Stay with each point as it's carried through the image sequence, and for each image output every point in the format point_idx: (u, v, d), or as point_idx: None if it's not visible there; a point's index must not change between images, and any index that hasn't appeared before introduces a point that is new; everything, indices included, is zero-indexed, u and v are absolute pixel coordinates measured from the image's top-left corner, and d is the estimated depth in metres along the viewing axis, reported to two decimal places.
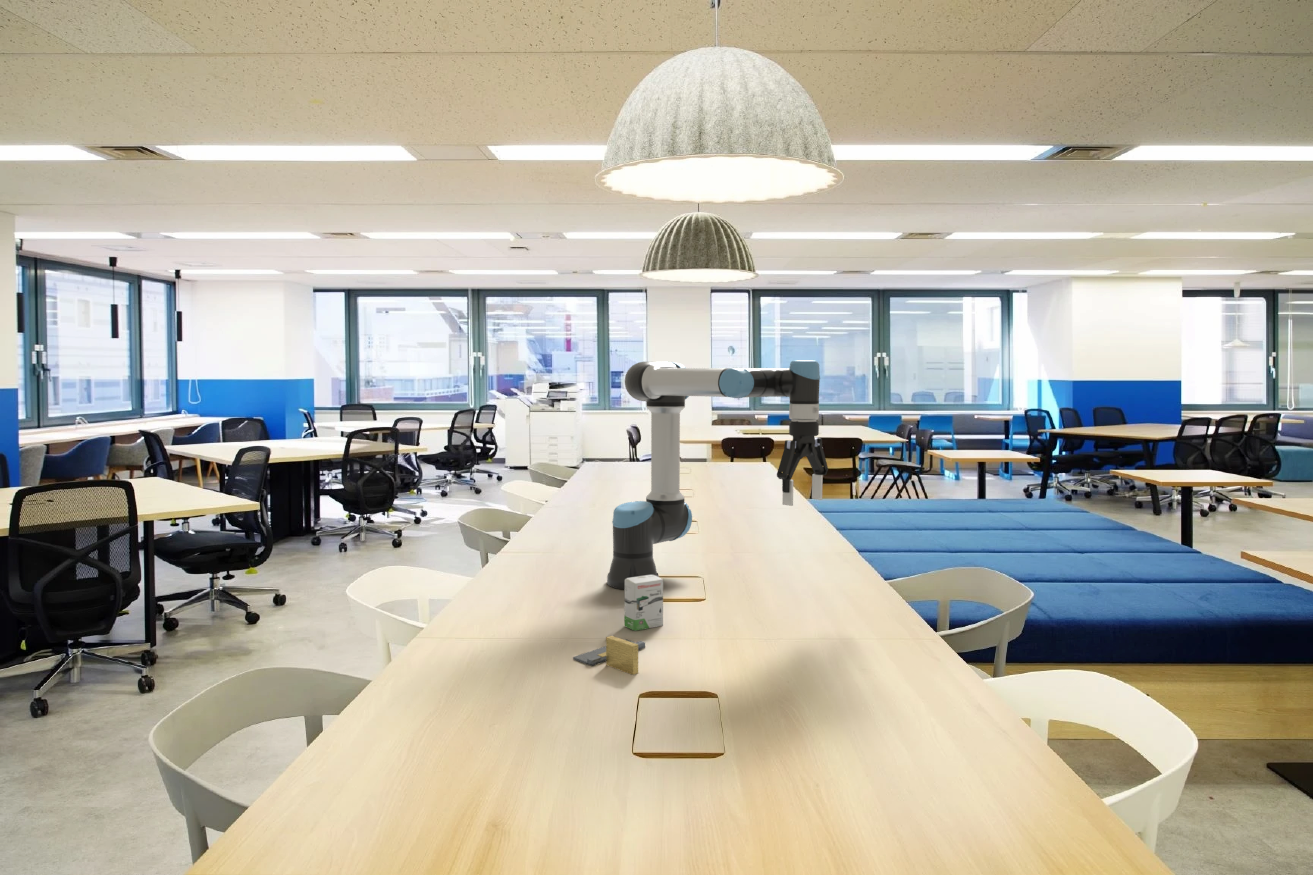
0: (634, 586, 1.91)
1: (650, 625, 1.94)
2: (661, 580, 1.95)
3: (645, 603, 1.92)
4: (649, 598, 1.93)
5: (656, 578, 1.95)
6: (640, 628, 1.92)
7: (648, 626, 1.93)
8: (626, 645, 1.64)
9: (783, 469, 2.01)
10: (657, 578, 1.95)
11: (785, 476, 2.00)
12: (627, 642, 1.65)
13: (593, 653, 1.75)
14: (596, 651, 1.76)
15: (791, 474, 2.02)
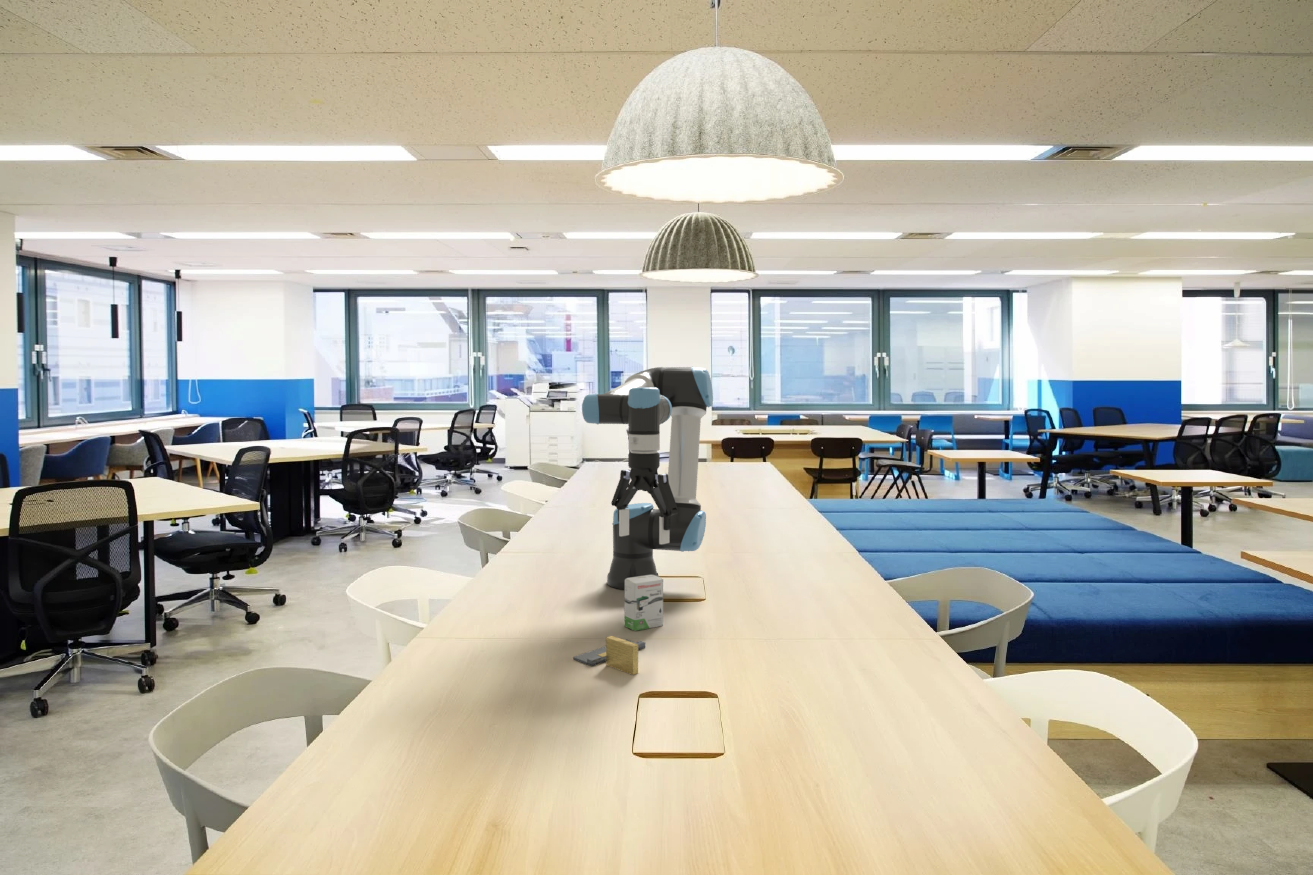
0: (634, 586, 1.91)
1: (650, 625, 1.94)
2: (661, 580, 1.95)
3: (645, 603, 1.92)
4: (649, 598, 1.93)
5: (656, 578, 1.95)
6: (640, 628, 1.92)
7: (648, 626, 1.93)
8: (626, 645, 1.64)
9: None
10: (657, 578, 1.95)
11: (612, 503, 1.99)
12: (627, 642, 1.65)
13: (593, 653, 1.75)
14: (596, 651, 1.76)
15: (619, 504, 1.97)
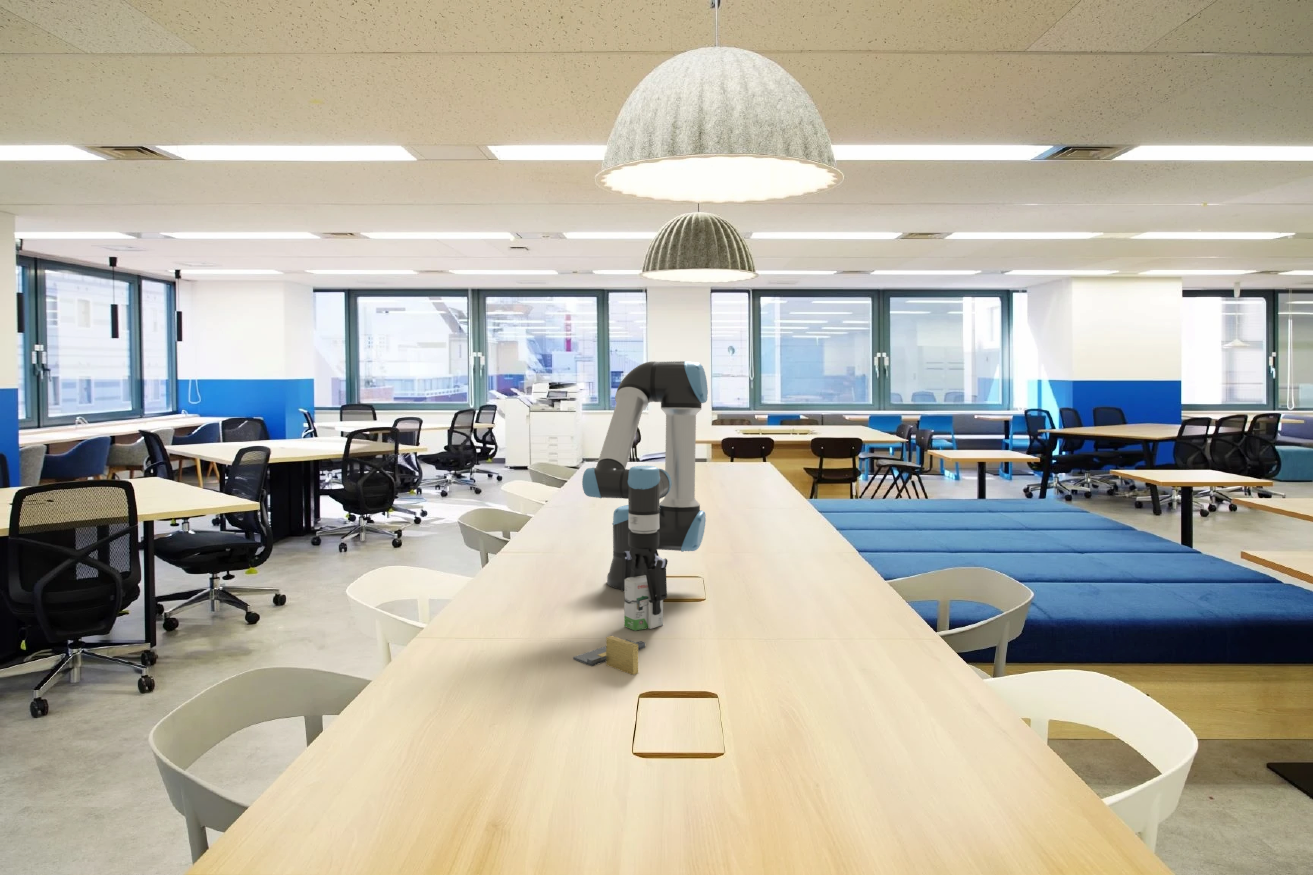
0: (634, 586, 1.91)
1: None
2: None
3: (645, 603, 1.92)
4: (649, 598, 1.93)
5: None
6: (640, 628, 1.92)
7: None
8: (626, 645, 1.64)
9: None
10: None
11: (622, 590, 1.98)
12: (627, 642, 1.65)
13: (593, 653, 1.75)
14: (596, 651, 1.76)
15: None
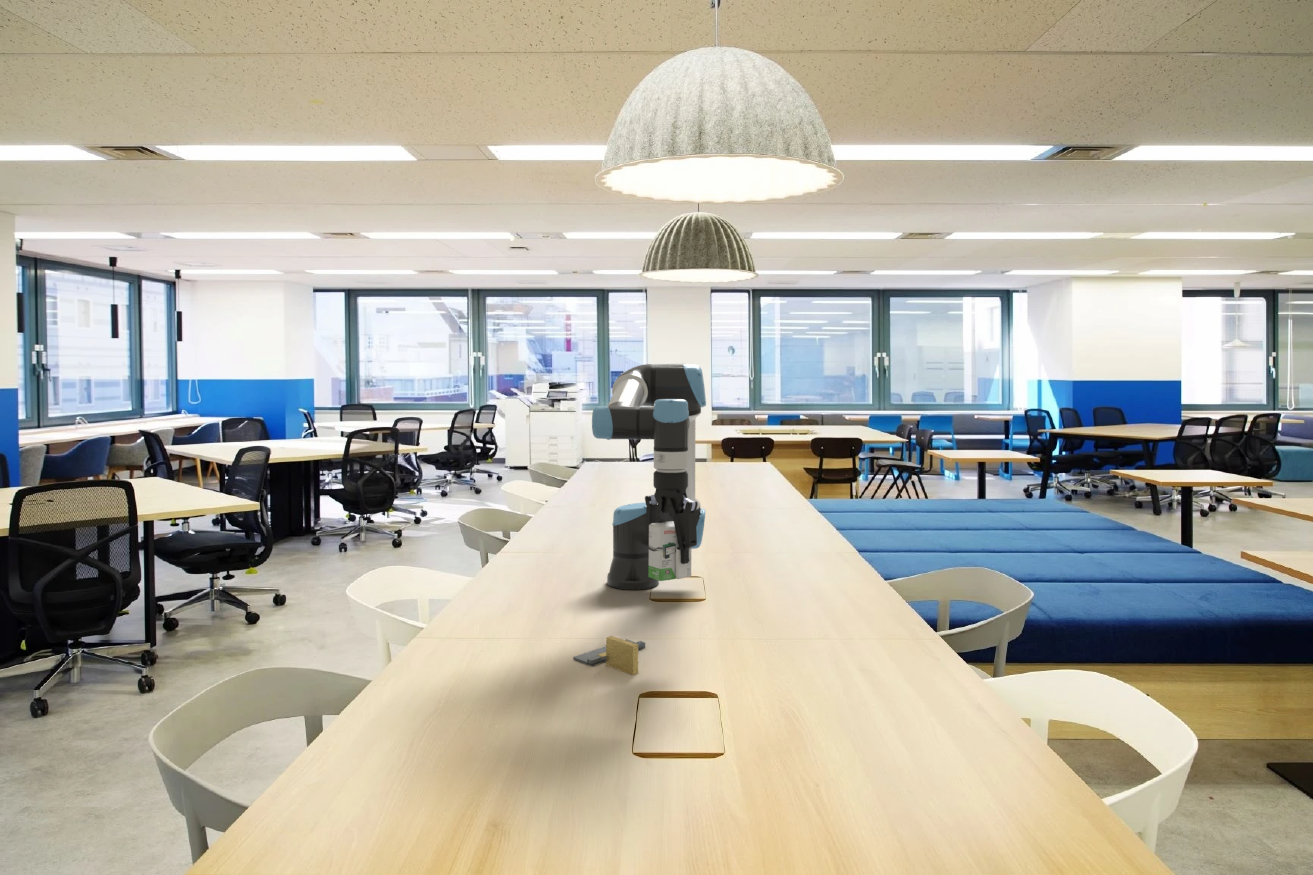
0: (660, 531, 1.71)
1: None
2: None
3: (672, 551, 1.73)
4: (677, 545, 1.73)
5: None
6: (666, 578, 1.72)
7: (675, 576, 1.74)
8: (626, 645, 1.64)
9: None
10: None
11: (646, 538, 1.79)
12: (627, 642, 1.65)
13: (593, 653, 1.75)
14: (596, 651, 1.76)
15: None
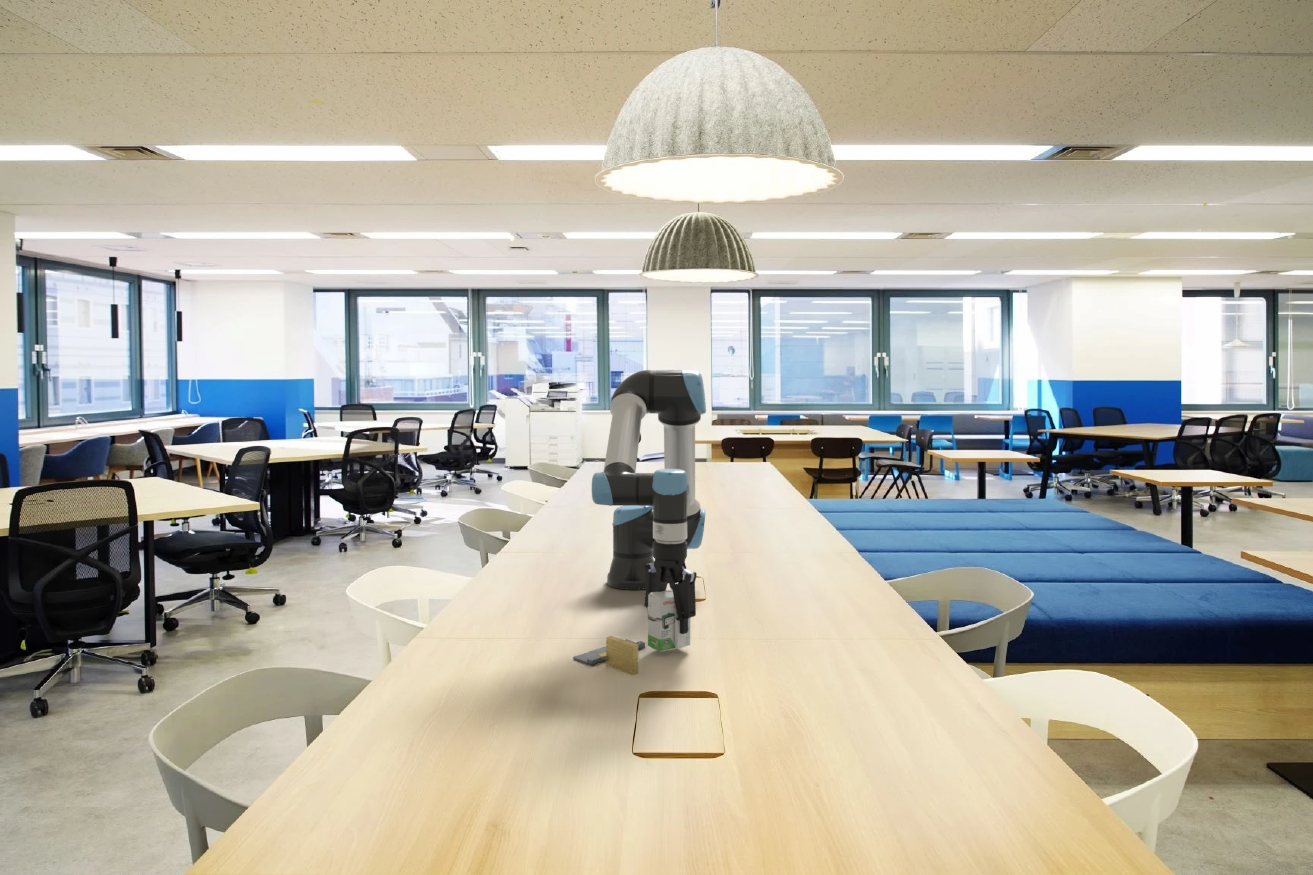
0: (659, 602, 1.72)
1: None
2: None
3: (671, 621, 1.74)
4: (676, 615, 1.74)
5: None
6: (666, 648, 1.74)
7: (674, 646, 1.75)
8: (626, 645, 1.64)
9: None
10: None
11: (645, 605, 1.80)
12: (627, 642, 1.65)
13: (593, 653, 1.75)
14: (596, 651, 1.76)
15: None
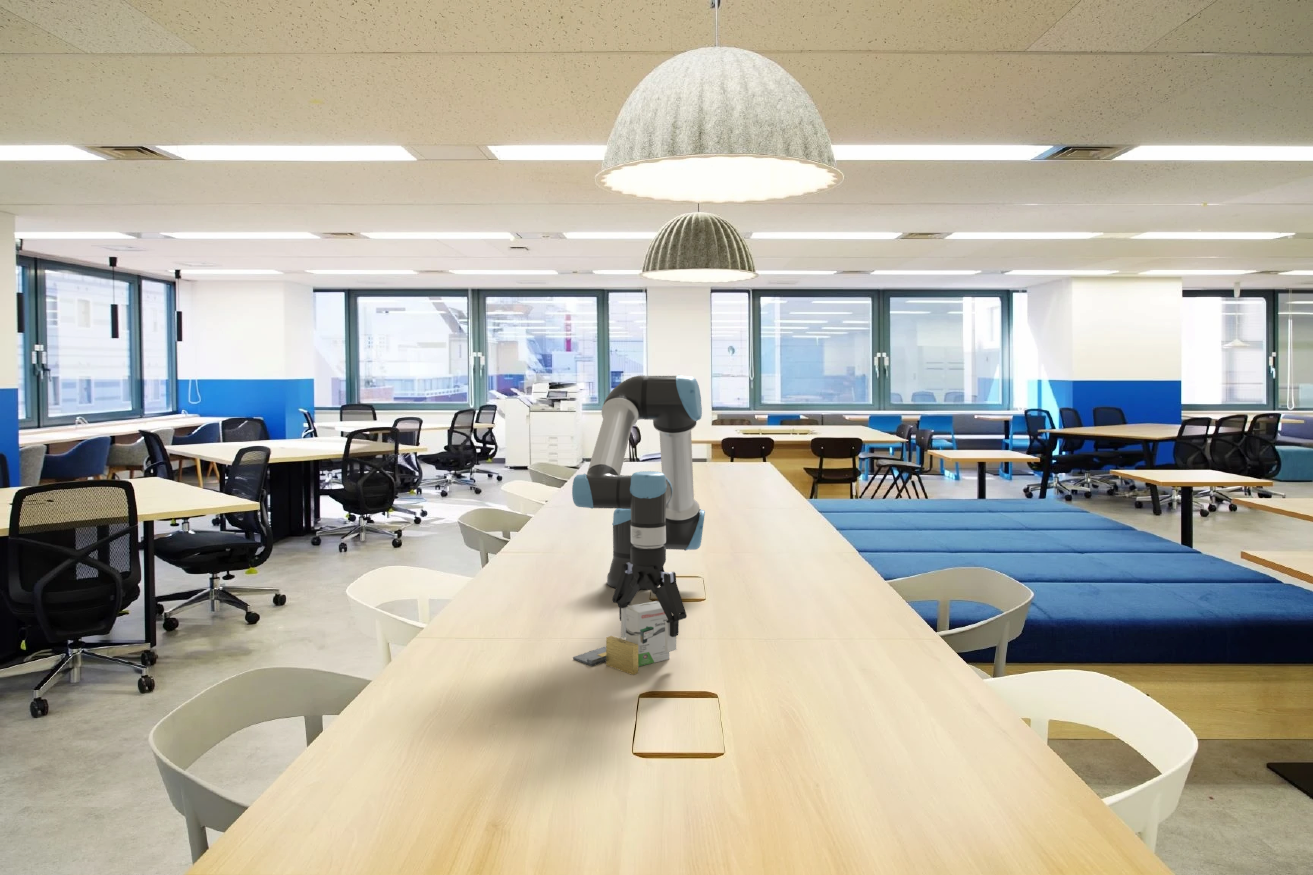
0: (638, 615, 1.67)
1: (655, 659, 1.70)
2: None
3: (650, 635, 1.69)
4: (654, 628, 1.70)
5: None
6: (644, 663, 1.69)
7: (653, 660, 1.70)
8: (626, 645, 1.64)
9: None
10: None
11: (613, 600, 1.77)
12: (627, 642, 1.65)
13: (593, 653, 1.75)
14: (596, 651, 1.76)
15: (621, 601, 1.75)
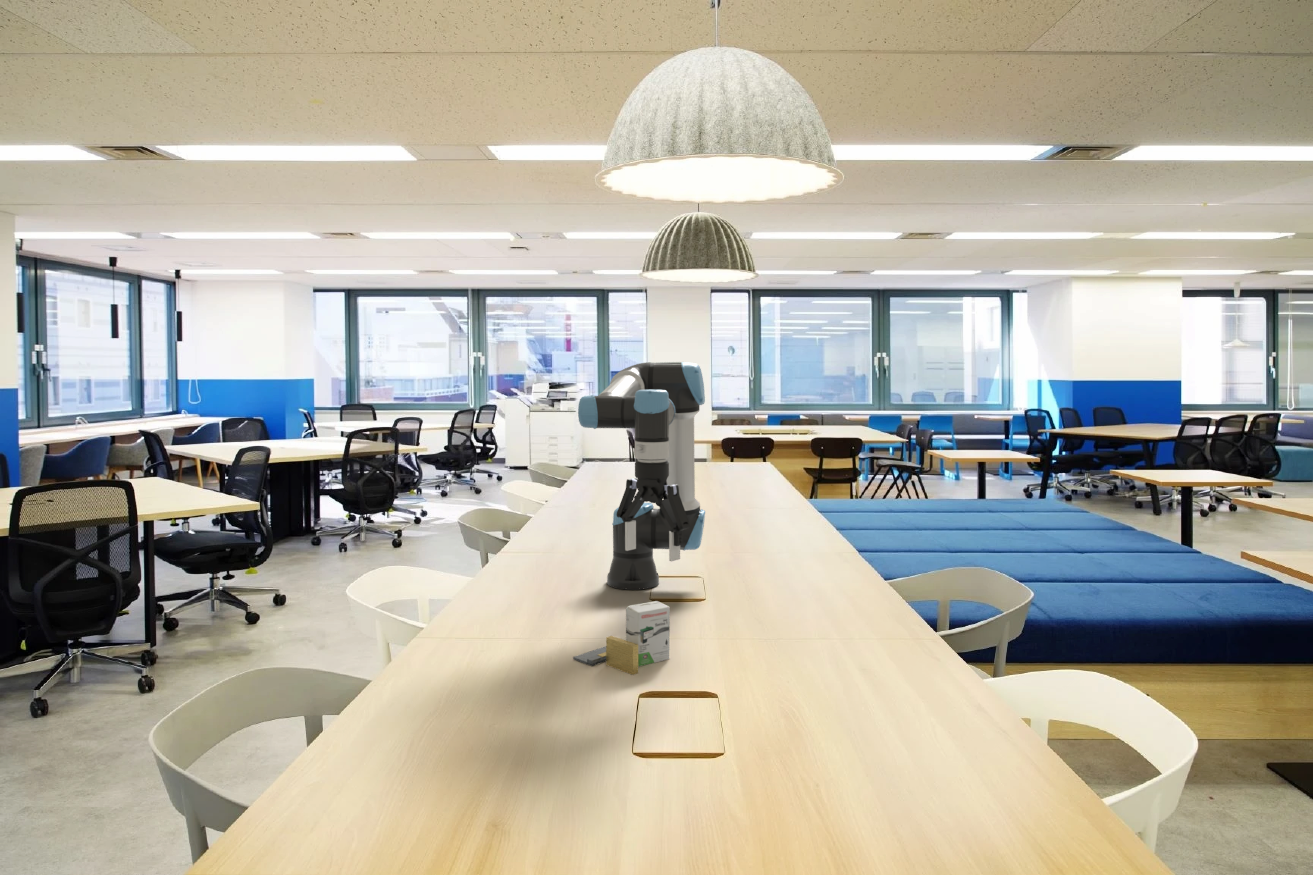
0: (638, 615, 1.67)
1: (655, 659, 1.70)
2: (667, 608, 1.72)
3: (650, 635, 1.69)
4: (654, 628, 1.70)
5: (662, 605, 1.72)
6: (644, 663, 1.69)
7: (653, 660, 1.70)
8: (626, 645, 1.64)
9: None
10: (663, 605, 1.72)
11: (617, 515, 1.84)
12: (627, 642, 1.65)
13: (593, 653, 1.75)
14: (596, 651, 1.76)
15: (625, 515, 1.82)
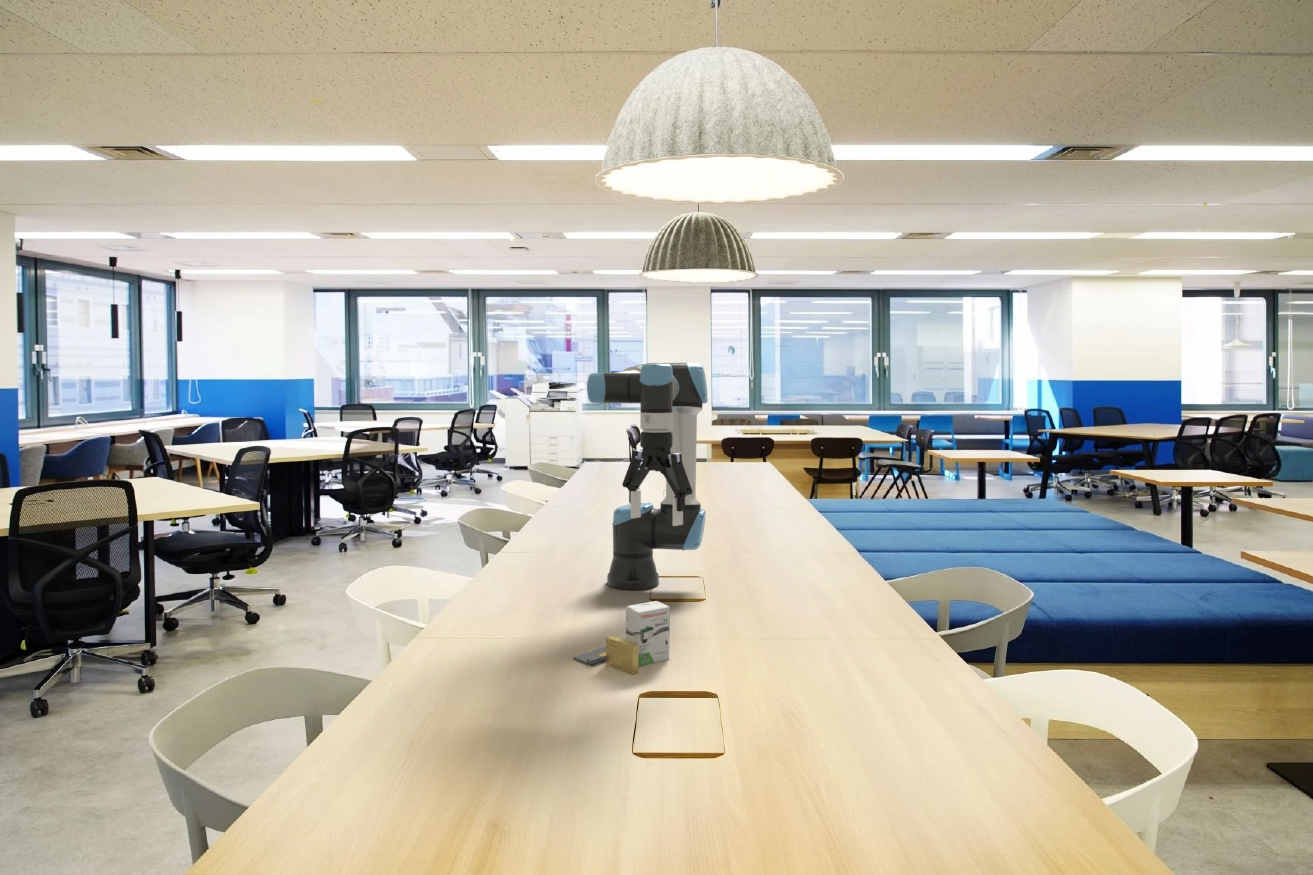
0: (637, 615, 1.67)
1: (655, 659, 1.70)
2: (667, 608, 1.72)
3: (650, 635, 1.69)
4: (654, 628, 1.70)
5: (662, 605, 1.72)
6: (644, 663, 1.69)
7: (653, 660, 1.70)
8: (626, 645, 1.64)
9: None
10: (663, 605, 1.72)
11: (623, 485, 1.93)
12: (627, 642, 1.65)
13: (593, 653, 1.75)
14: (596, 651, 1.76)
15: (631, 485, 1.91)
